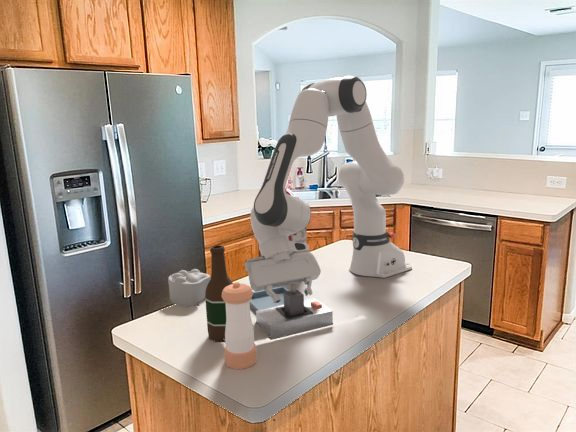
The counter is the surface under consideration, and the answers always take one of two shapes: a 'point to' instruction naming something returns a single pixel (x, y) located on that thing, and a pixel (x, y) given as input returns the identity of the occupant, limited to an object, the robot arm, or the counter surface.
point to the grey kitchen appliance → (294, 319)
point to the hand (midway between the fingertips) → (293, 298)
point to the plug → (293, 301)
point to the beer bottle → (217, 295)
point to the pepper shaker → (239, 327)
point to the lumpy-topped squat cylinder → (188, 287)
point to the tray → (267, 299)
